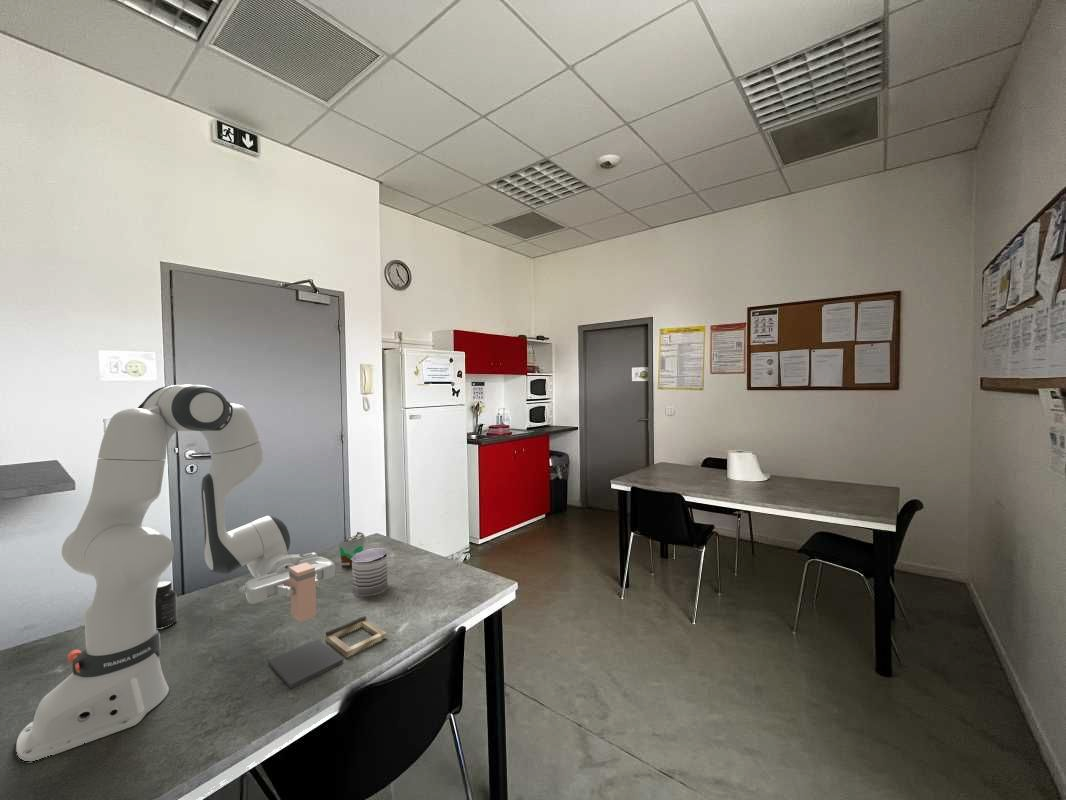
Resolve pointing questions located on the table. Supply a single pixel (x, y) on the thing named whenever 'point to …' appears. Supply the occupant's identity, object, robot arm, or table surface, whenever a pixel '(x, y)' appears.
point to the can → (369, 572)
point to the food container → (351, 548)
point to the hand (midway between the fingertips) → (304, 588)
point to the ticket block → (303, 592)
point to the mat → (304, 662)
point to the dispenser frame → (348, 627)
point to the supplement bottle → (165, 604)
